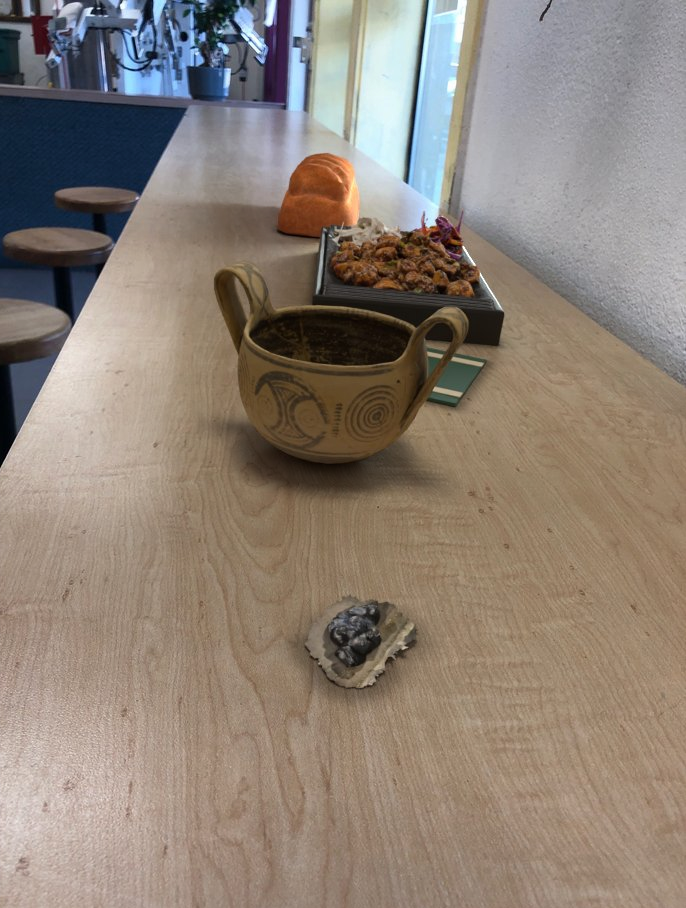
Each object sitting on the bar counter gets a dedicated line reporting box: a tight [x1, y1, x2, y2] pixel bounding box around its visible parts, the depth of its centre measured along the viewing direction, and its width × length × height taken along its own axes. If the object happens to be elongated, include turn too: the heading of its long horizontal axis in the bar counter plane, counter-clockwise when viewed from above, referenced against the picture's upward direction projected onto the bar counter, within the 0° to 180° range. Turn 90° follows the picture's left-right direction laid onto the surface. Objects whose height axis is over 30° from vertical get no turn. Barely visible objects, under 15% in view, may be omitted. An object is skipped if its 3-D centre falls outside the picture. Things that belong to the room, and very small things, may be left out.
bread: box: [276, 152, 360, 238], centre depth 161 cm, size 16×31×13 cm, turn 175°
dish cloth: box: [426, 346, 488, 407], centre depth 93 cm, size 20×16×1 cm
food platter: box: [311, 209, 505, 347], centre depth 119 cm, size 45×25×10 cm, turn 178°
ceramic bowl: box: [213, 261, 469, 465], centre depth 69 cm, size 22×17×15 cm
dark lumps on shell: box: [304, 593, 419, 689], centre depth 48 cm, size 7×8×2 cm
